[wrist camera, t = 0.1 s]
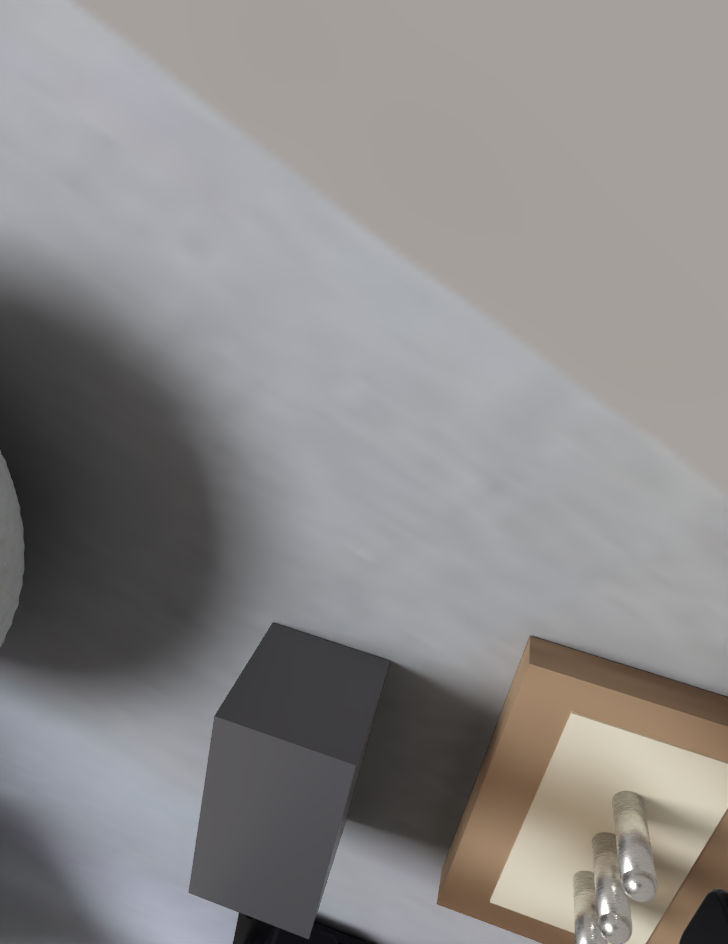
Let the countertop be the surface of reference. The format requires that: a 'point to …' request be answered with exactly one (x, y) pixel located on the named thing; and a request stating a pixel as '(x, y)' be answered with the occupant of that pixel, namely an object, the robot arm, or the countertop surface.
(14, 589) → the cereal bowl
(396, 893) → the countertop surface
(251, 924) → the robot arm
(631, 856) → the header pins
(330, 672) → the block
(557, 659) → the pin board
